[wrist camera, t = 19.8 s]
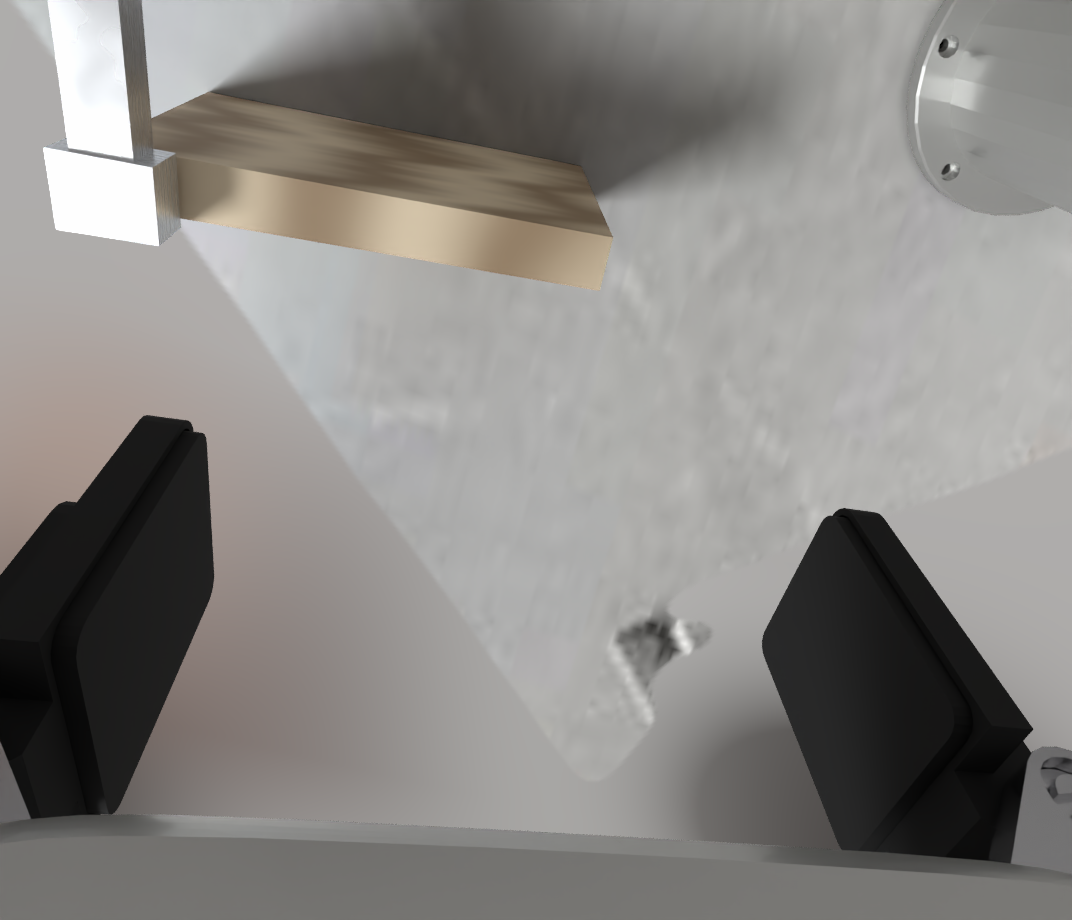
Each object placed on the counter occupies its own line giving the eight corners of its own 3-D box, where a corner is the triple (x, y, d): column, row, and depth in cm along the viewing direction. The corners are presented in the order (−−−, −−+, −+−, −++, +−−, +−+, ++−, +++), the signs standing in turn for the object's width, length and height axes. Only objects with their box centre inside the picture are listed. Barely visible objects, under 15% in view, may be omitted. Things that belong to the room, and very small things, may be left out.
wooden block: (581, 166, 35) (613, 237, 26) (571, 208, 36) (599, 290, 27) (208, 92, 33) (99, 142, 24) (210, 139, 34) (107, 205, 25)
